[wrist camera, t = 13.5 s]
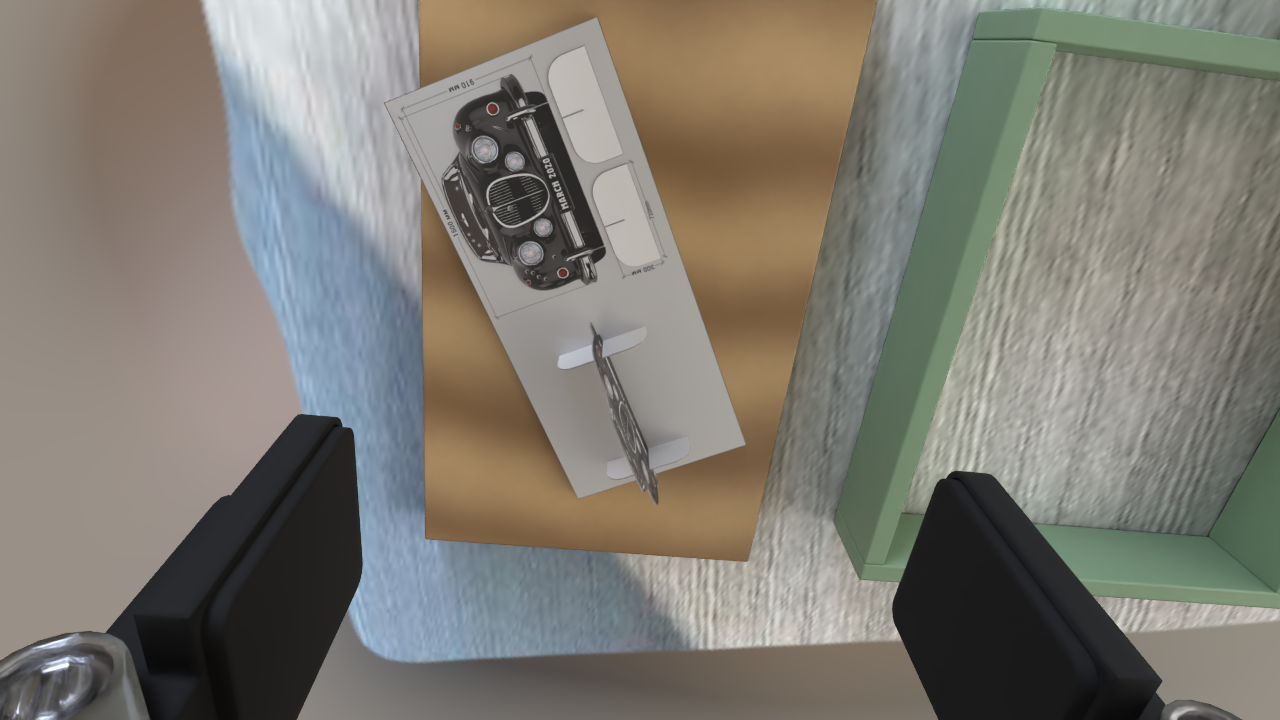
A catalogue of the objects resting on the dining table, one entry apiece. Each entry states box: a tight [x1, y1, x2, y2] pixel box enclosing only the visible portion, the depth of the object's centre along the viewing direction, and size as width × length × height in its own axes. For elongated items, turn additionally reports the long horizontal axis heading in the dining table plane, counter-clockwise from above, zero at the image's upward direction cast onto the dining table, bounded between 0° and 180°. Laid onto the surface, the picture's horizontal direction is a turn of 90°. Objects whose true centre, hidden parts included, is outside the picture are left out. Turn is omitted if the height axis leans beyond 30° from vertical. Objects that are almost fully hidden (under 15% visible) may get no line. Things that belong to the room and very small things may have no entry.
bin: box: [834, 7, 1280, 609], centre depth 25 cm, size 20×18×4 cm
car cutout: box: [384, 16, 746, 505], centre depth 21 cm, size 15×7×4 cm, turn 20°
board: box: [419, 0, 877, 562], centre depth 24 cm, size 22×13×2 cm, turn 173°
